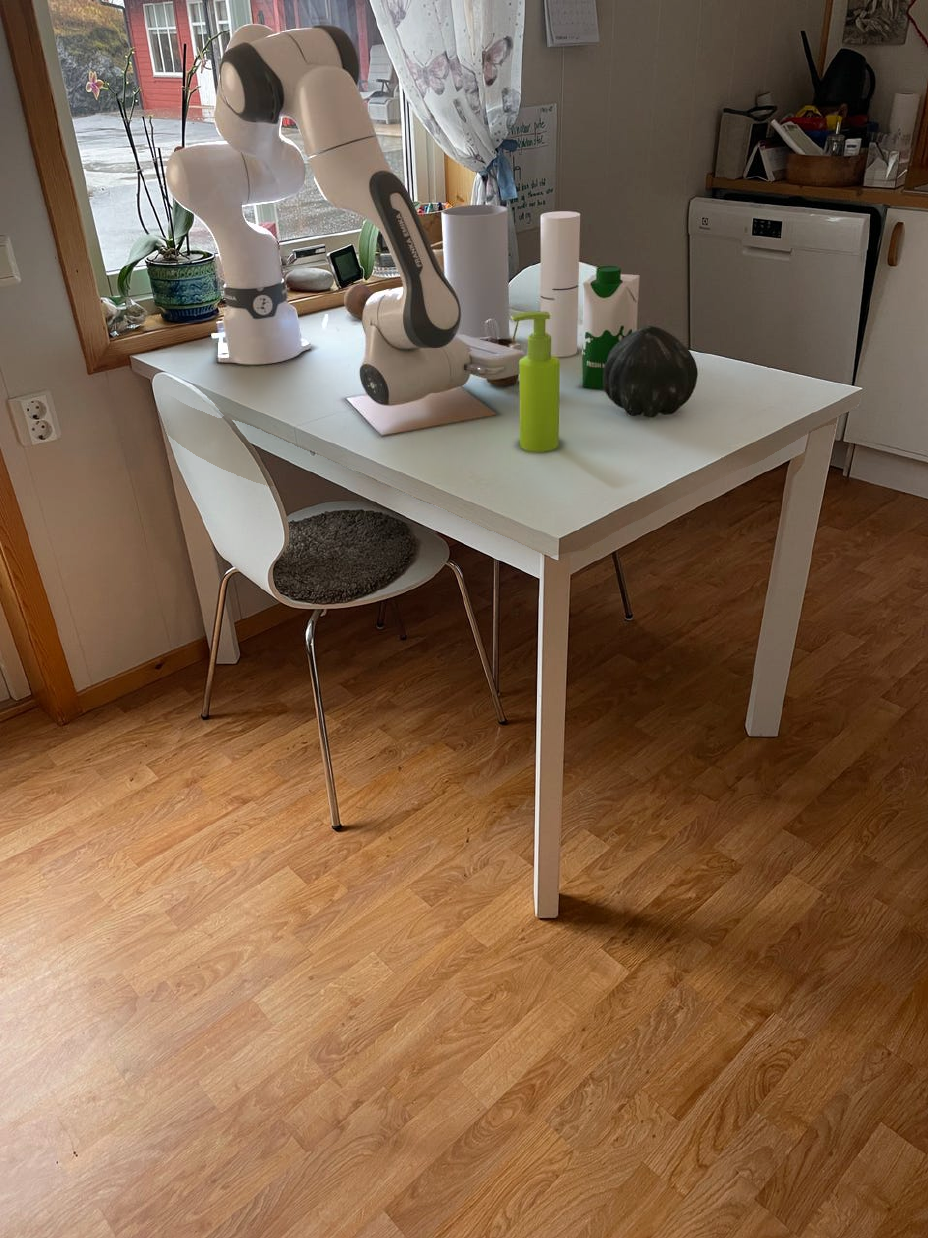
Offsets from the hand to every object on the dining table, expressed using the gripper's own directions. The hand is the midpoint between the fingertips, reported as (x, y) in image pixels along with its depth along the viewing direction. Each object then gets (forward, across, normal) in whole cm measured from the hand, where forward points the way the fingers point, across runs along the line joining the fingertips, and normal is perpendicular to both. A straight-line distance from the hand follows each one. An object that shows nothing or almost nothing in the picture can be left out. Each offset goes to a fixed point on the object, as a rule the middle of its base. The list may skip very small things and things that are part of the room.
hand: (506, 344), depth 170 cm
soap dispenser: (-18, -25, +7) cm, 32 cm away
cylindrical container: (+19, +5, +7) cm, 21 cm away
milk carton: (+11, -14, +7) cm, 19 cm away
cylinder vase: (+13, +22, +7) cm, 27 cm away
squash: (+5, -28, +7) cm, 29 cm away
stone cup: (+27, +44, +7) cm, 52 cm away
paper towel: (-19, +2, +7) cm, 20 cm away
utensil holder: (-1, 0, +7) cm, 7 cm away
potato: (+10, +57, +7) cm, 58 cm away
